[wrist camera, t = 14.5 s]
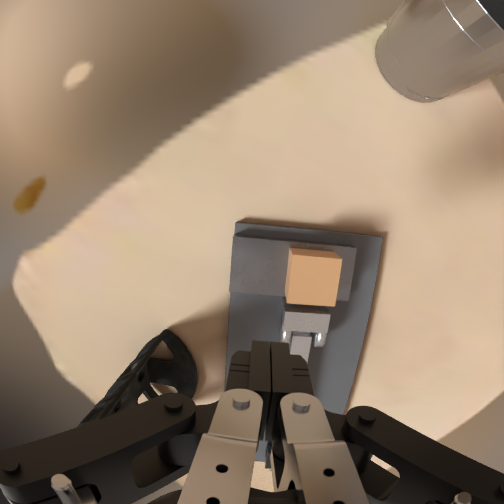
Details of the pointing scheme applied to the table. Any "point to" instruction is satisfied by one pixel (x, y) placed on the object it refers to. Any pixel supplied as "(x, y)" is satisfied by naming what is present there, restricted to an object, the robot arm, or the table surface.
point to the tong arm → (297, 347)
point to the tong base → (274, 279)
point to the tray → (338, 336)
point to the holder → (148, 377)
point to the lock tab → (312, 277)
